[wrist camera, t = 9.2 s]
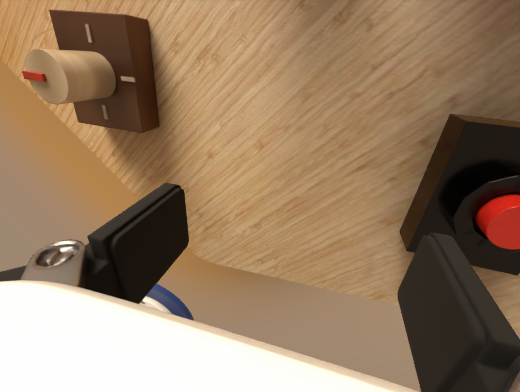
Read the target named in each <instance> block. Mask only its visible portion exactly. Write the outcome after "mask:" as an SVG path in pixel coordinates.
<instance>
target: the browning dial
mask: <svg viewBox="0 0 520 392" xmlns="http://www.w3.org/2000/svg"><path fill="white" fill-rule="evenodd" d="M25 69H26V71H22V73H23V76H24V79H29V81H30V83H31V85H32V87H33V88H34V90H35V91H36V92H37V93H38V94H39V95H40V96H41V97H42V98H43V99H44V100H46V101H47V102H49V103H52V104H65V103H72V102H79V101H86V100H93V99H100V98H107V97H109V96H111V95H112V94H113V92H114V90H115V87H116V78H115V74H114V71H113V69H112V67H111V65H110V63H109V62H108V61H107V60H106V58H104V57H103V56H102V55H101V54H99V53H97V52H92V51H73V50H55V49H33V50H31V51H29V52H28V54H27V56H26V59H25Z"/></svg>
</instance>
